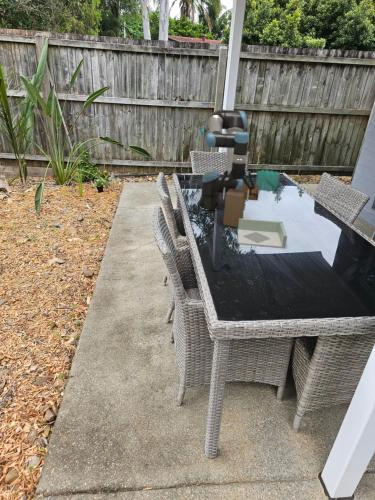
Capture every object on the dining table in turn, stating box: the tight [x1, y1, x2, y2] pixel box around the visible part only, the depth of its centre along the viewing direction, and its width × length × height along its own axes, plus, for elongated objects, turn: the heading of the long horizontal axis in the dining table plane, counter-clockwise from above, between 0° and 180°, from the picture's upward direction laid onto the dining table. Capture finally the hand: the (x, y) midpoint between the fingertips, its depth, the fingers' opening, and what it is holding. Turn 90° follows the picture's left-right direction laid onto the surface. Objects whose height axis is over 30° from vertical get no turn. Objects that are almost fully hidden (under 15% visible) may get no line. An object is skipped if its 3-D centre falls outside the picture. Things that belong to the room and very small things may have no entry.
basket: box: [255, 169, 281, 192], centre depth 265 cm, size 19×18×13 cm
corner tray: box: [237, 218, 288, 249], centre depth 175 cm, size 24×20×7 cm
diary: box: [241, 183, 259, 201], centre depth 247 cm, size 23×19×6 cm
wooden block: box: [222, 189, 246, 228], centre depth 190 cm, size 10×10×20 cm
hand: (235, 199), depth 187 cm, fingers open, 13 cm apart
